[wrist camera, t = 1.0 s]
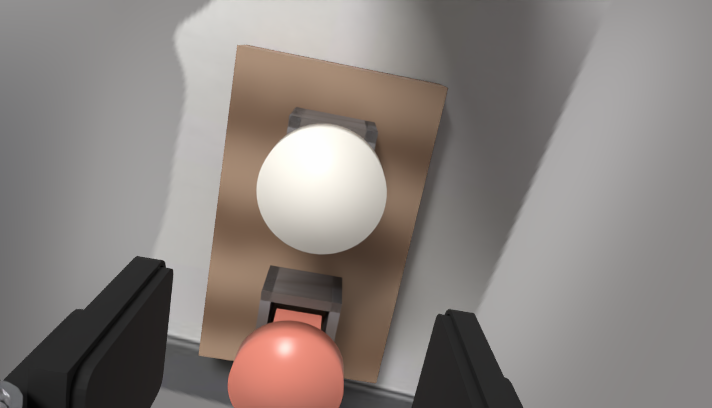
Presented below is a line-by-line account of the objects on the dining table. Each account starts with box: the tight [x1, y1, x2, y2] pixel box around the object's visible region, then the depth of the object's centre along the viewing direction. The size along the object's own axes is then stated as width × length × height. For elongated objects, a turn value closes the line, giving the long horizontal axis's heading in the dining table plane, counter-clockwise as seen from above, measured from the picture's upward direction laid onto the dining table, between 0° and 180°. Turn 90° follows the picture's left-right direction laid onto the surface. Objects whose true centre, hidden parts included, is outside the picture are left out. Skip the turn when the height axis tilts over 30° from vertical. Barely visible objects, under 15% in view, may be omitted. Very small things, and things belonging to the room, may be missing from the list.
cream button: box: [256, 124, 387, 254], centre depth 25 cm, size 6×6×5 cm
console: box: [199, 45, 448, 383], centre depth 32 cm, size 20×12×6 cm, turn 169°
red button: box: [228, 308, 344, 408], centre depth 28 cm, size 6×6×5 cm
